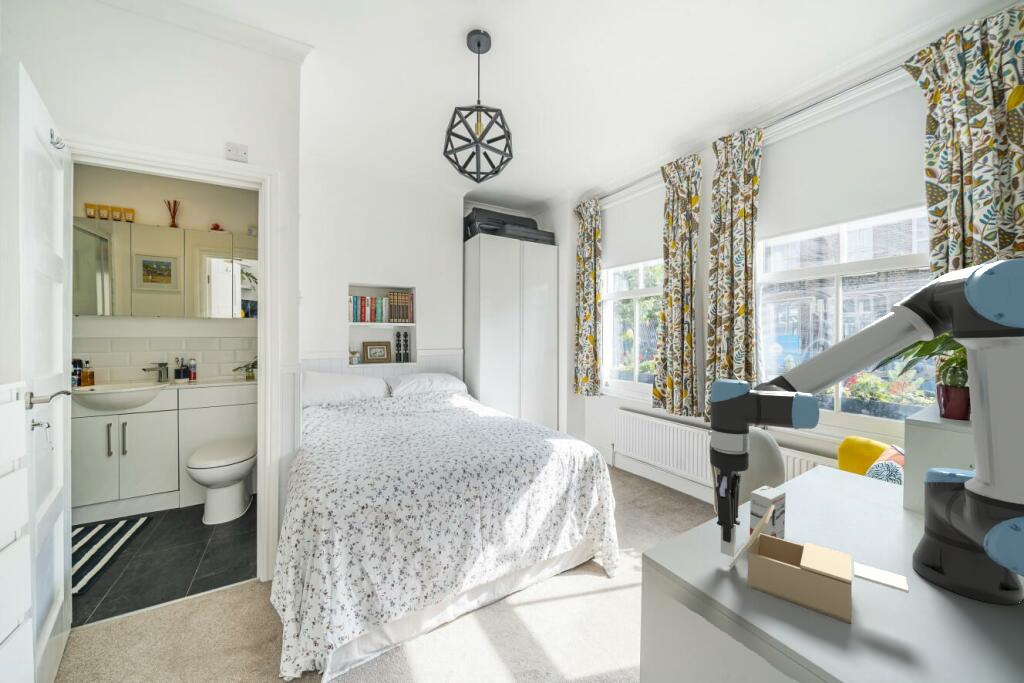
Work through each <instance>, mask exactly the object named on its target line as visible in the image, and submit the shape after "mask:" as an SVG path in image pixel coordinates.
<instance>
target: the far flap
mask: <svg viewBox="0 0 1024 683" xmlns="http://www.w3.org/2000/svg"><path fill="white" fill-rule="evenodd" d="M774 507H775V506H774V505H773V504H772V506H771V507H770V508H769V510H768V511H767V512H766V514H765V515H764V516H763V518H762V519H761V520H760V522H759V523H758V524H757V526H756V527H755V528H754V530H753V532H752V534H751V535H750V534H749V537H748V538H747V539H746V541H745V542H744V543H743V545H742V546H741V547H740V548H739V550H738V551H737V552H736V555H735V556H734V557H732V560H731V563H730V564H729V568H730V569H733V567H734V566H735V565H736V564H737V562H738V561H739V559H740V558H741V557H742V556H743V555H744V553H745V552H746V551H749V550H750V548H751V546H752V543H753V542H754V541H755V539H756V538H757V537H758V536H759V534H760V533H761V532H762V530H763V529H764V528H765V526H766V525H767V524H768V521H769V519H770V517H771V514H772V512H773V509H774Z"/></svg>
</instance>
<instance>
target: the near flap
mask: <svg viewBox="0 0 1024 683" xmlns="http://www.w3.org/2000/svg"><path fill="white" fill-rule="evenodd" d="M803 545H804V549H803V554H802V559H801V564H800V567H801V568H804V569H807V570H810V571H814V572H817V573H820V574H823V575H826V576H830V577H833V578H836V579H839V580H842V581H845V582H849V583H852V581H853V580H852V577H853V575H852V572H853V573H854V578H857V579H860V580H863V581H866V582H870V583H873V584H877V585H878V586H879V585H881V586H883V587H886V588H890V589H893V590H897V591H900V592H904V593H906V594H909V592H910V591H909V590H910V589H909V587H908V582H907V577H906V576H904V575H901V574H897V573H894V572H890V571H887V570H883V569H879V568H876V567H873V566H870V565H865V564H862V563H858V562H856V561H853V571H852V554H848V553H845V552H842V551H838V550H835V549H831V548H828V547H824V546H820V545H817V544H814V543H810V542H804V544H803Z"/></svg>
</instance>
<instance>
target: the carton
mask: <svg viewBox="0 0 1024 683" xmlns="http://www.w3.org/2000/svg"><path fill="white" fill-rule="evenodd" d="M803 549H804V544H801V543H799V542H794V541H790V540H787V539H783V538H781V539H780V538H777V537H773V536H770V535H766V534H763V533H760V534H759V536H758V537H757V538H756V539H755V541H754V542H753V543H752V545H751V546H750V547H749V549H748V553H747V555H748V556H747V569H748V570H747V587H748V588H750V589H754V590H756V591H759V592H762V593H765V594H767V595H771V596H773V597H775V598H778V599H782V600H784V601H786V602H789V603H791V604H792V603H793V604H795V605H798V606H800V607H803V608H806V609H809V610H811V611H813V612H817V613H819V614H822V615H824V616H828V617H830V618H834V619H836V620H839V621H841V622H844V623H846V624H850V625H852V593H853V592H852V583H849V582H845V581H842V580H839V579H836V578H833V577H830V576H826V575H823V574H820V573H817V572H814V571H810V570H807V569H804V568H801V567H800V564H801V559H802V554H803Z"/></svg>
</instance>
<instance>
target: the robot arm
mask: <svg viewBox="0 0 1024 683" xmlns="http://www.w3.org/2000/svg"><path fill="white" fill-rule="evenodd" d="M950 332H951V333H952V337H953V338H952V339H953V341H955V342H957V343H958V344H960V345H961V346H963V347H964V348H965V349H966V362H967V374H968V386H969V387H968V388H969V399H970V400H969V401H970V413H971V415H970V416H971V425H972V426H971V427H972V439H973V440H972V441H973V453H974V466H975V468H974V469H975V470H967V469H961V468H950V467H930V468H928V469H927V470H926V471H925V478H924V481H923V485H924V524H923V525H924V528H923V529H924V530H923V532H924V533H923V534H922V537H921V538H920V540H919V542H918V544H917V546H916V548H915V549H914V550H913V553H912V555H911V556H912V561H911V563H912V564H911V565H912V568H913V569H914V571H915V572H916V573H918V574H919V575H920V576H921V577H923V578H924V579H926V580H928V581H929V582H932V583H933V584H935V585H936V586H939V587H941V588H943V589H946V590H949V591H951V592H952V593H956V594H958V595H962V596H964V597H968V598H971V599H974V600H978V601H983V602H987V603H991V604H997V605H1005V604H1014V605H1018V604H1017V603H1019V602H1021V601H1022V600H1023V601H1024V587H1023V586H1024V585H1023V584H1022V581H1021V579H1020V577H1019V576H1021V577H1023V578H1024V258H1022V257H1020V258H1011V259H1001V260H995V261H989V262H987V263H983V264H980V265H975V266H972V267H967V268H963V269H958V270H955V271H950V272H948V273H946V274H943V275H941V276H939V277H938V278H936V279H934V280H932V281H931V282H929V283H928V284H927V283H926V285H924V286H923V287H921V288H919V289H918V290H916V291H914V292H913V293H911V294H910V295H907V297H905V298H904V299H902V300H900V301H898V302H896V303H895V304H893V305H892V306H891V307H890V312H889V313H887V314H885V315H884V316H882V317H880V318H879V319H877V320H875V321H873V322H872V323H870V324H868V325H865V326H864V327H862V328H860V329H859V330H858V331H856V332H854V333H852V334H850V335H849V336H847V337H845V338H843V339H841V340H840V341H838V342H836V343H834V344H833V345H831V346H829V347H827V348H826V349H824V350H822V351H821V352H819V353H817V354H815V355H813V356H812V357H810V358H807V360H806V359H805V360H804V361H803V362H801V363H799V364H797V365H796V366H795V367H792V368H791V369H788V370H787V371H785V372H784V373H781V374H780V375H779V376H776V377H775V378H773V379H771V380H769V381H766V382H761V383H758V384H756V385H755V386H754V387H753V388H752V389H751V386H750V383H749V382H748V381H746V380H741V379H730V378H727V379H726V378H725V379H724V378H722V379H721V378H720V379H715V380H714V381H713V382H712V384H711V390H710V431H708V432H707V434H708V436H710V446H711V448H710V449H709V450H710V451H709V455H710V456H709V463H710V464H711V466H713V467H714V468H716V469H718V470H719V474H717V478H716V483H717V486H716V487H715V489H714V490H715V493H716V502H717V503H716V504H717V505H716V506H717V507H716V508H717V518H718V519H717V521H716V524H717V525H718V526H719V527H720V553H721V554H723V555H727V556H728V557H729V556H730V557H732V558H734V556H735V555H736V554H737V550H736V548H737V547H736V543H737V534H736V533H737V526H740V525H741V521H739V520H737V519H738V518H739V504H740V503H739V502H740V484H741V478H742V475H741V473H740V472H745V471H747V470H749V466H750V465H749V464H750V462H749V461H750V460H749V459H750V455H749V452H748V451H749V450H750V425H753V426H763V427H764V426H765V427H776V428H787V429H794V430H799V429H800V430H802V429H803V430H804V429H805V430H812V429H815V428H817V426H818V423H819V420H820V405H819V401H818V399H817V397H816V396H817V395H819V394H821V393H822V392H825V391H827V390H828V389H830V388H832V387H834V386H836V385H838V384H840V383H842V382H843V381H846V380H847V379H849V378H851V377H853V376H856V374H858V373H860V372H862V371H863V372H864V370H866V369H868V368H870V367H872V366H874V365H876V364H878V363H880V362H881V361H883V360H885V359H888V358H889V357H890V356H893V355H895V354H896V353H899V352H900V351H902V350H904V349H906V348H908V347H910V346H912V345H914V344H915V343H917V342H919V341H923V342H924V341H925V342H931V341H932V340H934V339H936V338H938V337H940V336H942V335H944V334H948V333H950ZM1023 601H1022V602H1023ZM1022 602H1021V603H1022ZM1019 604H1020V603H1019Z"/></svg>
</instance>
